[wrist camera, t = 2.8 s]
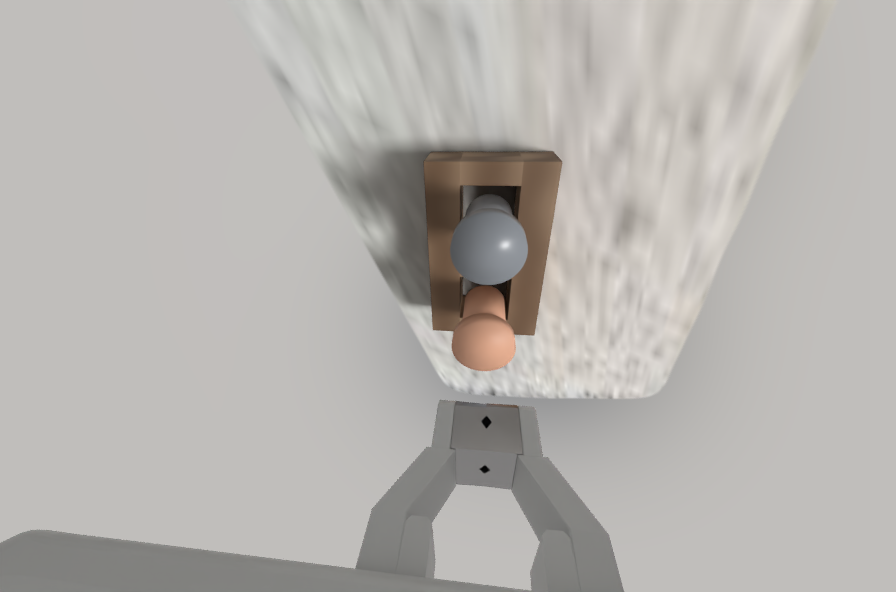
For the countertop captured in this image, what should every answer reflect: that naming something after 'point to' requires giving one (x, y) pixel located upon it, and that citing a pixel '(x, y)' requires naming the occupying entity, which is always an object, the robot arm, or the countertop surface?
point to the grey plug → (489, 242)
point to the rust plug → (484, 331)
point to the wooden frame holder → (532, 210)
